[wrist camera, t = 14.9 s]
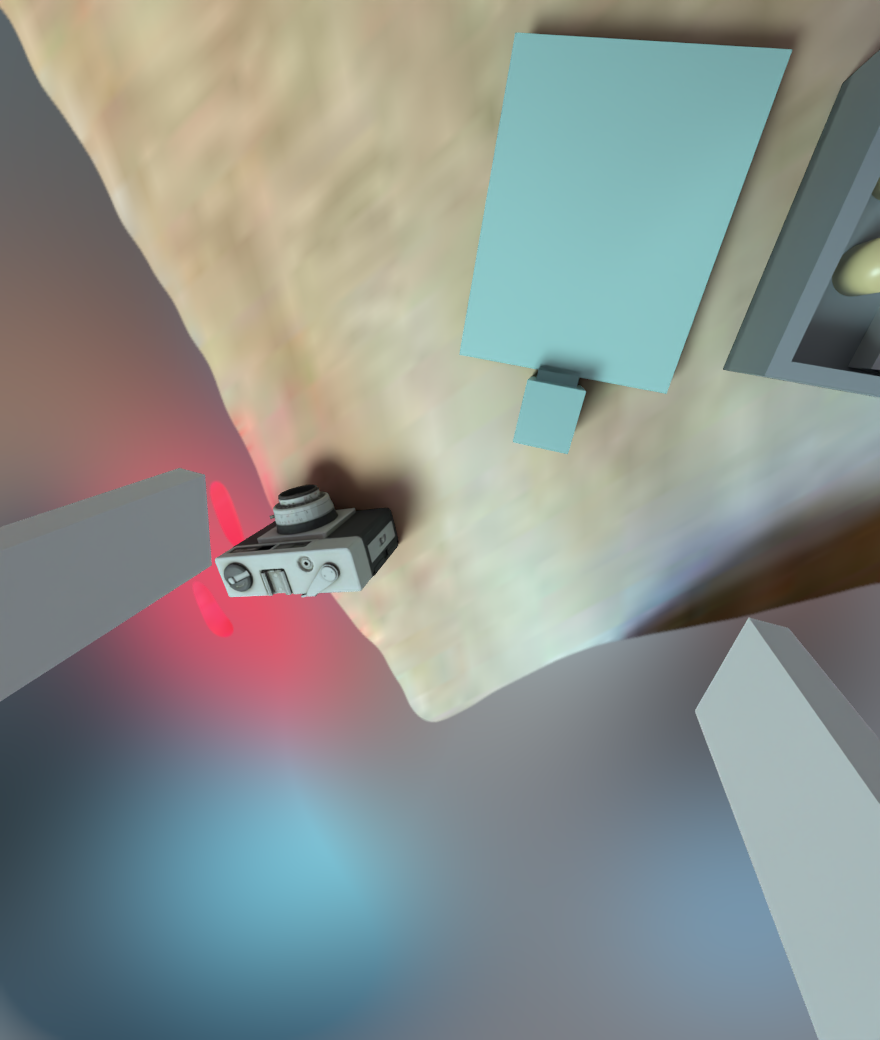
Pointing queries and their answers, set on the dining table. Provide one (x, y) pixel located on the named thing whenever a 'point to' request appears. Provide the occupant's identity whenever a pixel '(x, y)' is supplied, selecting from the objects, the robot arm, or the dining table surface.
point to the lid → (609, 211)
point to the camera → (310, 548)
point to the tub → (826, 260)
